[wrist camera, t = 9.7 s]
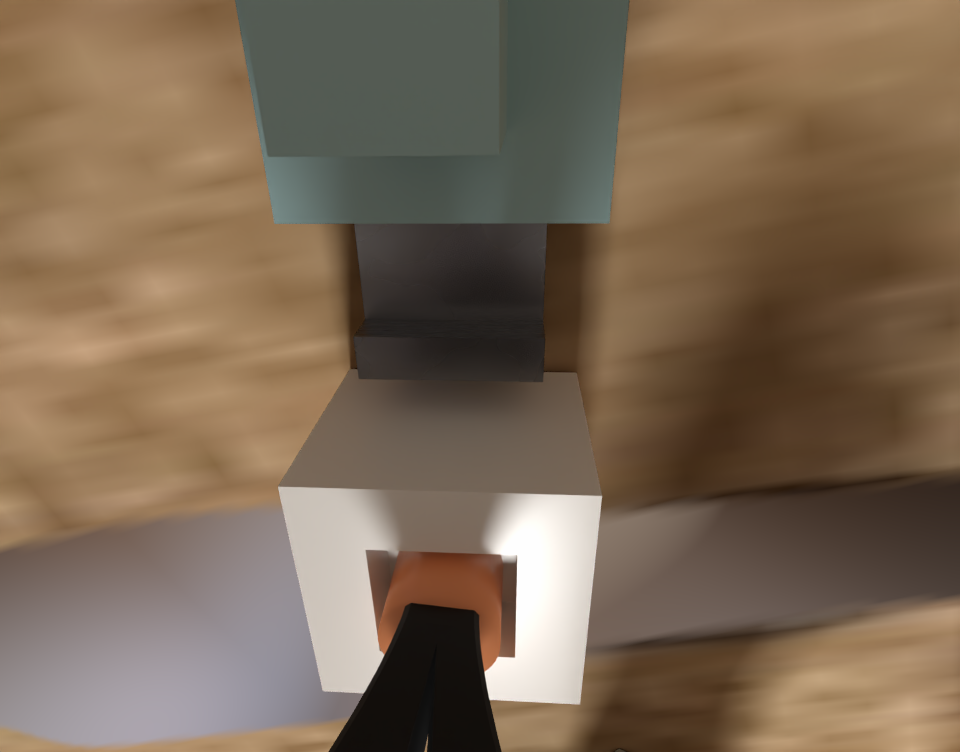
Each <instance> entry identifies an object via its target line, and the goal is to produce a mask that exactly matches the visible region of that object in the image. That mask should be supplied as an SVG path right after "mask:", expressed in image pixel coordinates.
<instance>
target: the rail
mask: <svg viewBox="0 0 960 752" xmlns="http://www.w3.org/2000/svg"><path fill="white" fill-rule="evenodd" d="M354 227H355V235H356V244H357V253H358V262H359V271H360V279H361V288H362V297H363V306H364V314H365V320H364V322H363V323H362V325H361V326H360V328H359V329H358V331H357V332H356V334H355V335H354V336H353V338H354V346H355V354H356V362H357V370H358V378H359V379H383V380H443V381H504V382H543V374H544V351H545V334H544V325H543V312H544V287H545V262H546V237H547V223H455V224H354Z"/></svg>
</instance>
